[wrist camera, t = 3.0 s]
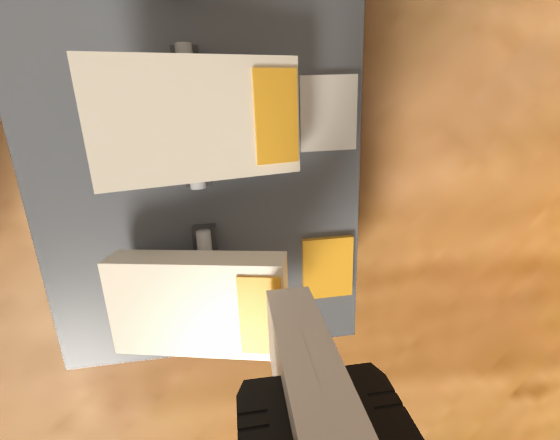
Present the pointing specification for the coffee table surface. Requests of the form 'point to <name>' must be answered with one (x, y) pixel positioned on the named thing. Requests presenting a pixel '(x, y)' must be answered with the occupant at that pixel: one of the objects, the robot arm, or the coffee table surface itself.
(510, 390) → the coffee table surface
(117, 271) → the rocker
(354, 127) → the console
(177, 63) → the rocker
